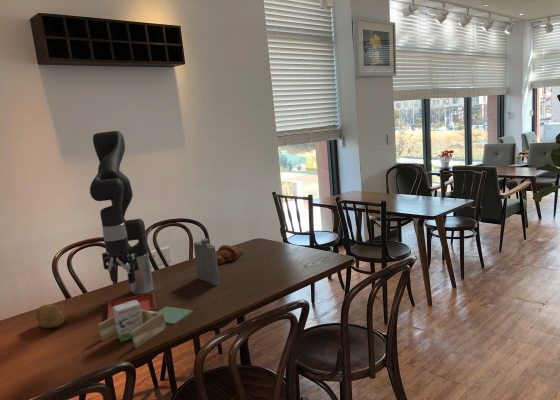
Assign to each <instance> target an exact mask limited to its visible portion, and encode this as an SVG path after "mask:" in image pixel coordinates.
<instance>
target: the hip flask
mask: <svg viewBox="0 0 560 400" xmlns="http://www.w3.org/2000/svg"><path fill="white" fill-rule="evenodd" d="M209 242H210V241H209V238H202V239H200V241H195V242H193V250H194V256H195V257H194V258H195V264H196V270H197V278H198V279H199V280H202V281H205V282H207V283H210V284H211V285H213V286H219V285H221V284H220V276H219V268H218V265H217V258H216V253H217V251H216V246H214V245H213V244H210V243H209Z"/></svg>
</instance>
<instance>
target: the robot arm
mask: <svg viewBox="0 0 560 400" xmlns="http://www.w3.org/2000/svg"><path fill="white" fill-rule="evenodd" d="M92 142H93V143H92V144H93V147H94V151H95V154H96V156H97V159H98V162H99V164H98V169H97V174H96V175H95V177H94V178H93V180H92V181H91V183H90V187H89V194H90V196H91V198H92V199H93V200H94V201H96V202H104V201H111V205H109V206H107V207H106V206H105V207H103V208H102V209H100V212H99V214H100V220H101V226H102V227H101V228H102V237H103V240H104V241H103V242H104V248H105V252H103V253H101V258H102V264H103V269H104V270H107V271H108V273H109V277H110V281H111V282H112V283H113V282H116V281H118V274H117V270H116V268H117V267H121V268H122V270H123V269H124V270H125V272H126V273H127V280H128V284H129V286H130V292H131V293H133V294H134V295H143V294H147V293H151V292H152V291H153V290H154V289H155V287H154V281H153V274H152V269H151V268H152V267H151V263H150V262H151V261H150V255H149V250H148V244H147V237H146V236H147V235H146V228H145V227H146V225H145V222H144V220H143V219H142V218H135V219H134V218H133V219H125V216H126V215H125V214H126V212H127V210H128V208H129V206H130V204H131V202H132V200H133V197H134V194H133V189H132V185H131V182H130V180H129V178H128V177H127V176H126V175H125V174H124V173H123V172H122V171H121V170H120V167H121V166H120V165H121V163H122V160H123V157H124V154H125V152H126V151H125V150H126V143H125V138H124V135H123V133H122V132H121V131H119V130H111V131H104V132H103V131H102V132H97V133H94V134H93V135H92ZM131 241H138V242H136V244H134V245H132V246H131V247H130V244H129V242H131Z"/></svg>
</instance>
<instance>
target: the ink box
mask: <svg viewBox="0 0 560 400" xmlns="http://www.w3.org/2000/svg"><path fill="white" fill-rule="evenodd" d="M113 313H114V319H115V324H116V330H117V333H116V335H117V338H118V339H119V341H120V342H121V343H122V342H125V341H128V340H131V339H132V340H133V338H132V332H131V331H132V330H134V329H135V328H137V327H139V326H140V325H142V324H143V319H142V313H141V307H140V304H139V302H138V301H137V300H133V301H130V302H126V303H123V304H120V305H116V306H114V307H113Z"/></svg>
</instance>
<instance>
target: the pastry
mask: <svg viewBox="0 0 560 400" xmlns="http://www.w3.org/2000/svg"><path fill="white" fill-rule="evenodd" d="M242 254H243V249H241V247H237V246H235V245H232V246H231V245H228V244H223V245H221V246H219V248H218V249H217V251H216V258H217V266H218V265H223V264H227V263H230V262H235V261H236V260H238V259H239V258H240V256H242Z"/></svg>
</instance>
